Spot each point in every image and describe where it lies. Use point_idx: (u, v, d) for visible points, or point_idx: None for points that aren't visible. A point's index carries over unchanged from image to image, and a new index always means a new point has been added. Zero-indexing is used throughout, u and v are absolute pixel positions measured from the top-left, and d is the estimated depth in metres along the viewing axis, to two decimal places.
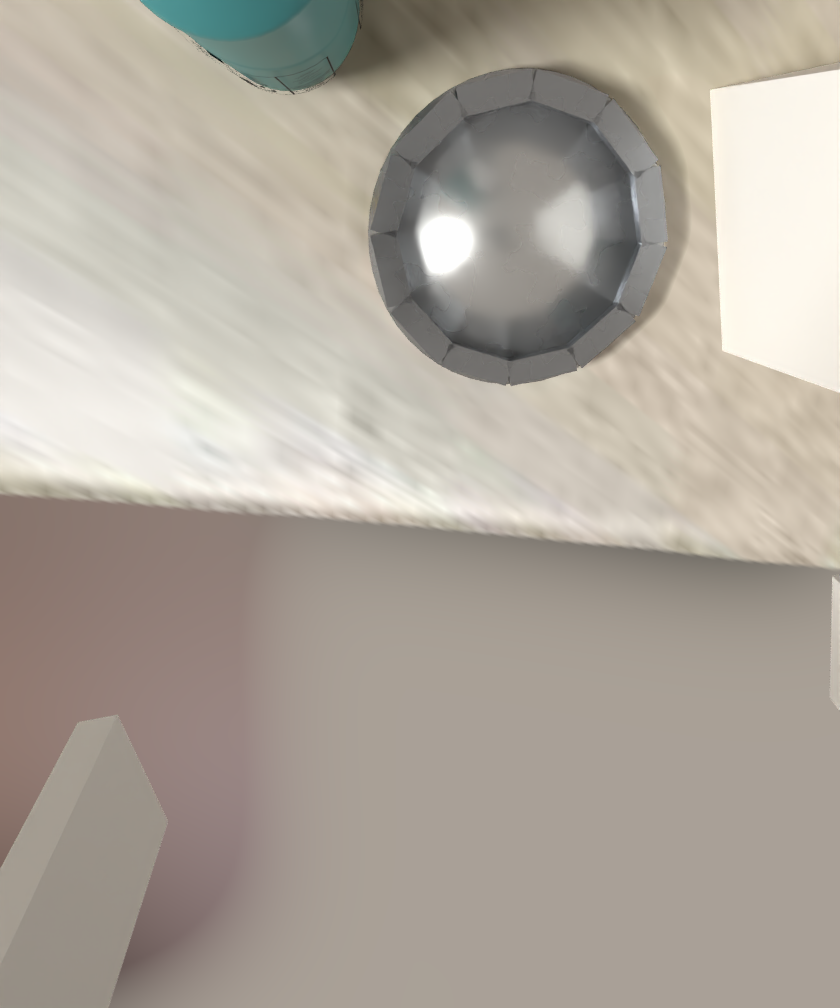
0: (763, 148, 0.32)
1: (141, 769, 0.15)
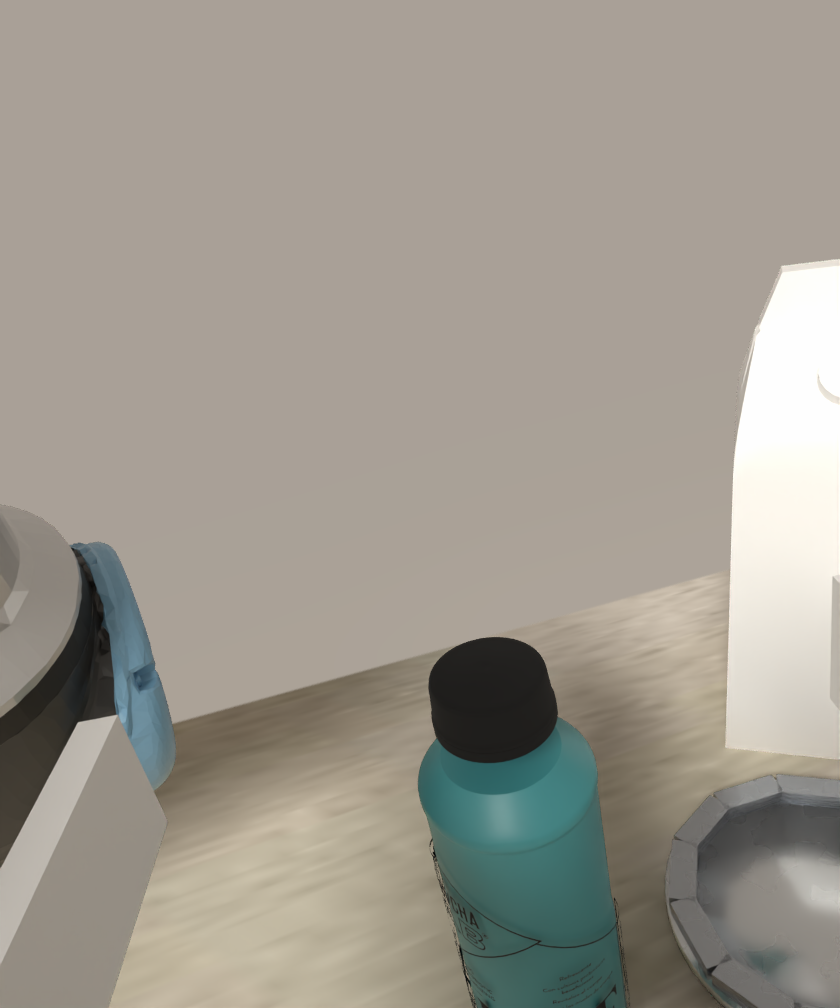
0: (775, 684, 0.43)
1: (140, 769, 0.15)
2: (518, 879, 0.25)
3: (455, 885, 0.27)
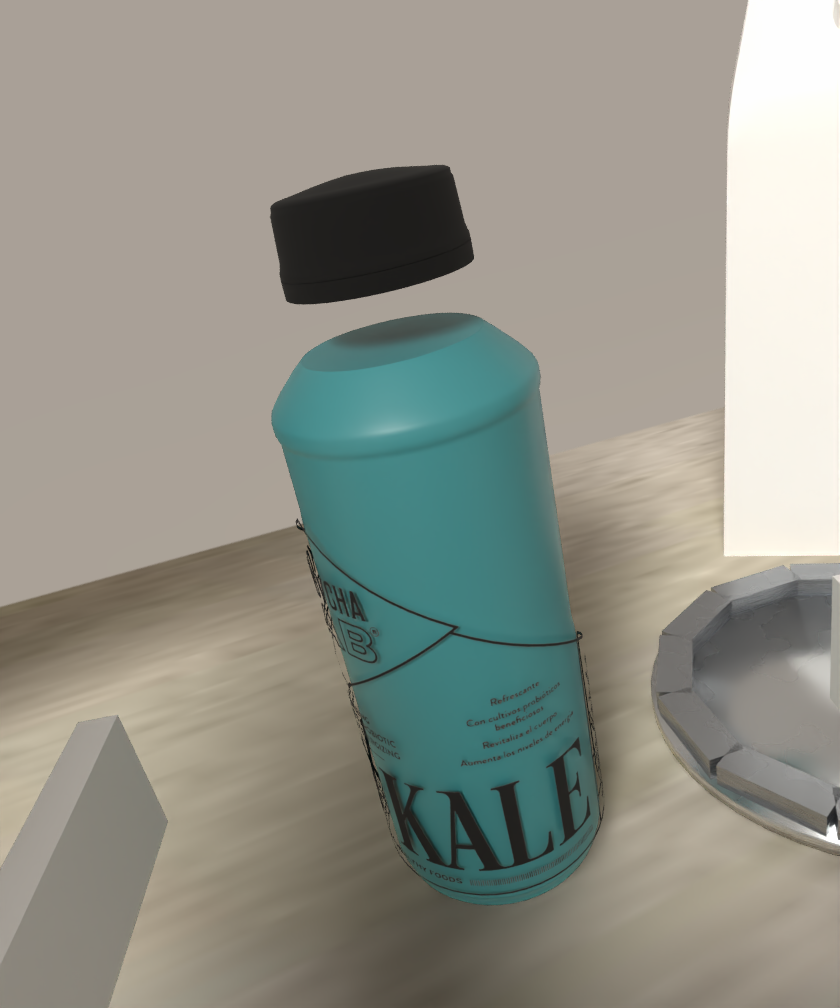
0: (785, 456, 0.34)
1: (140, 769, 0.15)
2: (414, 508, 0.16)
3: (328, 557, 0.18)
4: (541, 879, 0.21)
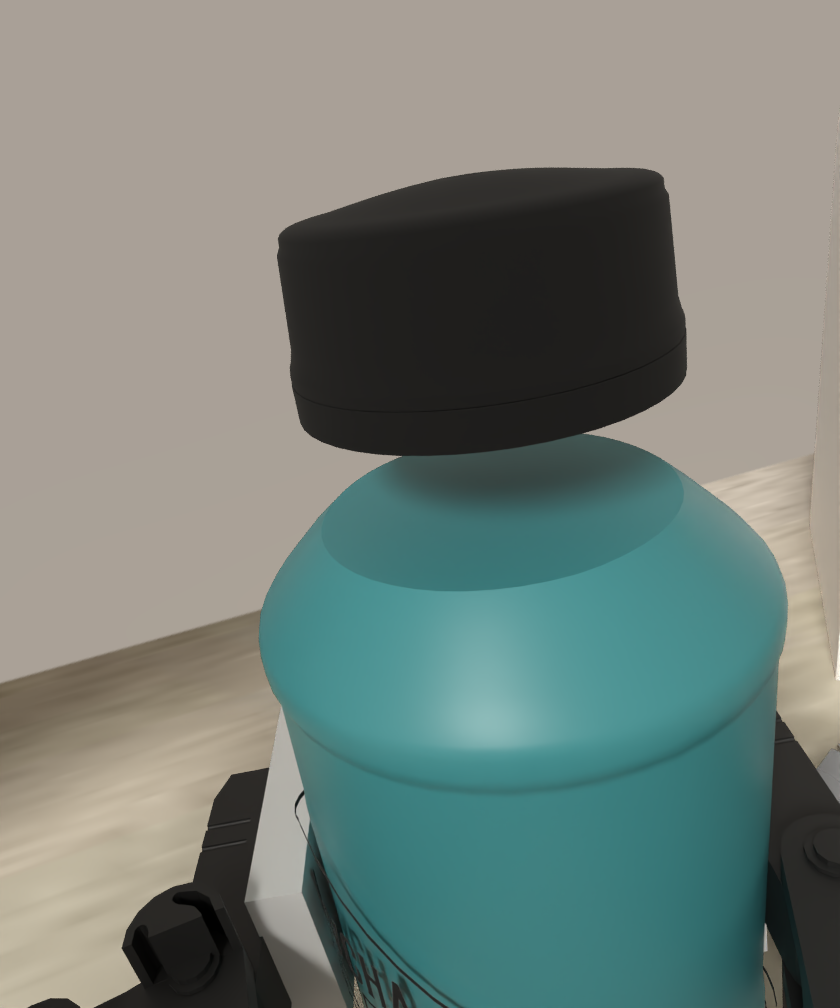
0: None
1: None
2: (548, 884, 0.08)
3: (353, 901, 0.09)
4: None
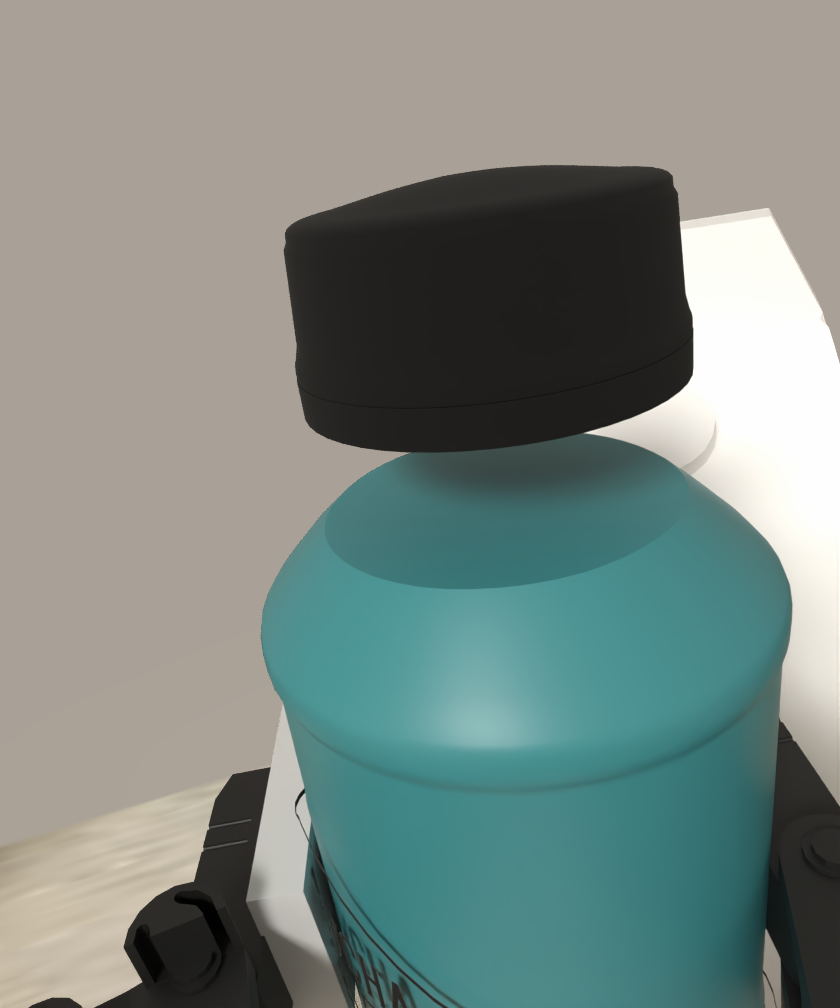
0: None
1: None
2: (551, 884, 0.08)
3: (354, 901, 0.09)
4: None
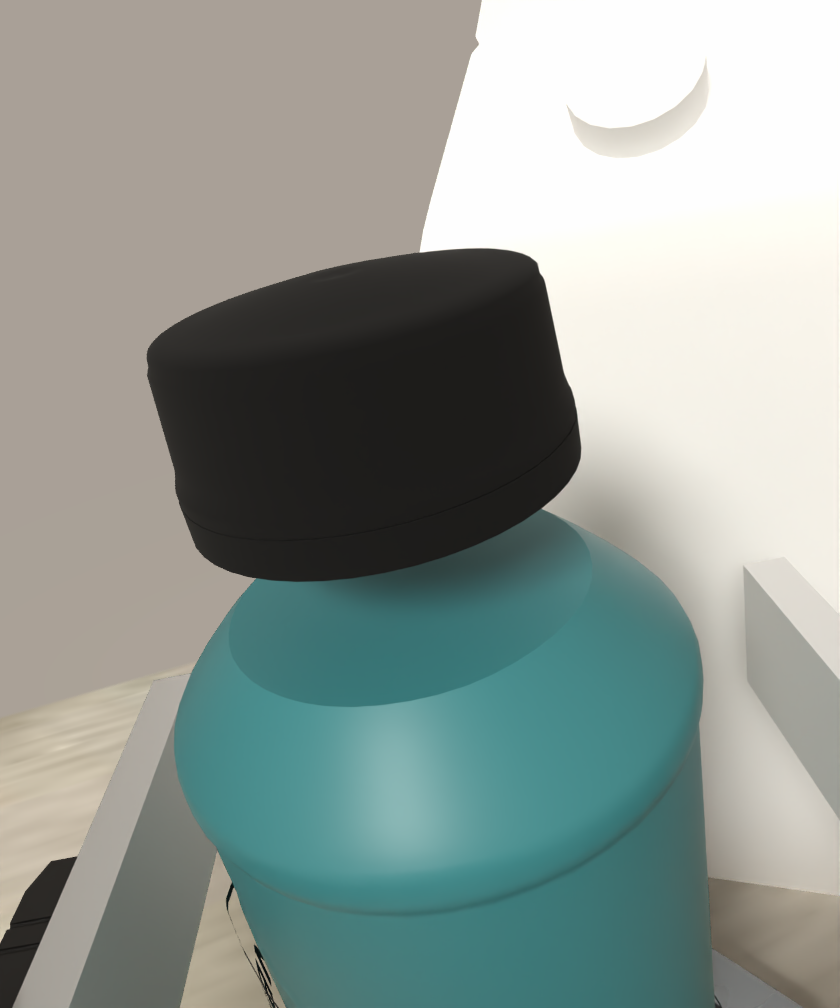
0: None
1: None
2: (455, 993, 0.07)
3: (283, 991, 0.09)
4: None
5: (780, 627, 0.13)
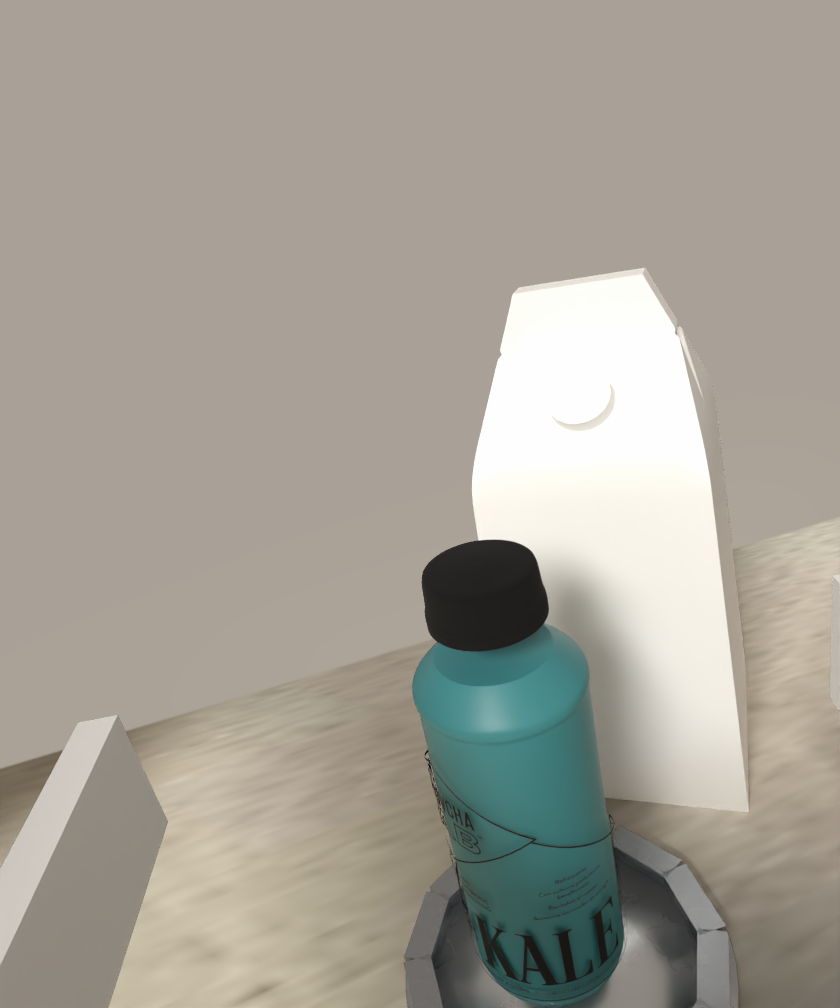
0: None
1: (140, 769, 0.15)
2: (512, 772, 0.25)
3: (450, 787, 0.27)
4: (584, 990, 0.30)
5: None
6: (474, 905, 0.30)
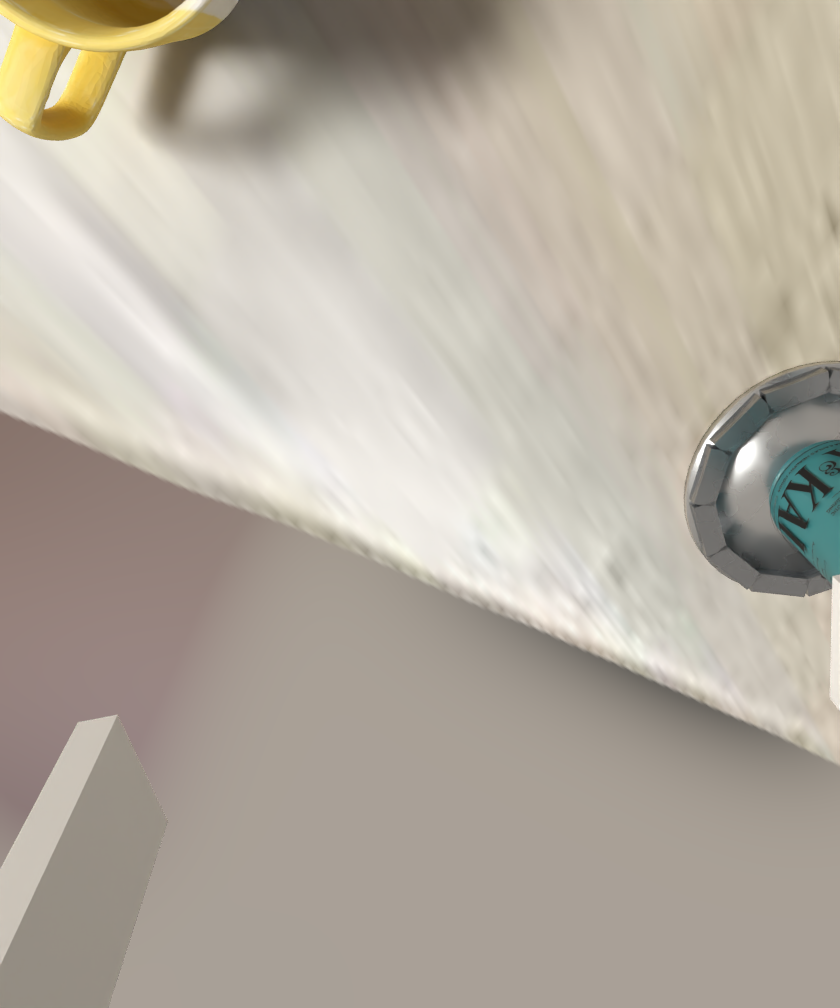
0: None
1: (140, 770, 0.15)
2: None
3: None
4: (775, 521, 0.43)
5: None
6: (838, 488, 0.38)
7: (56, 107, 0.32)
